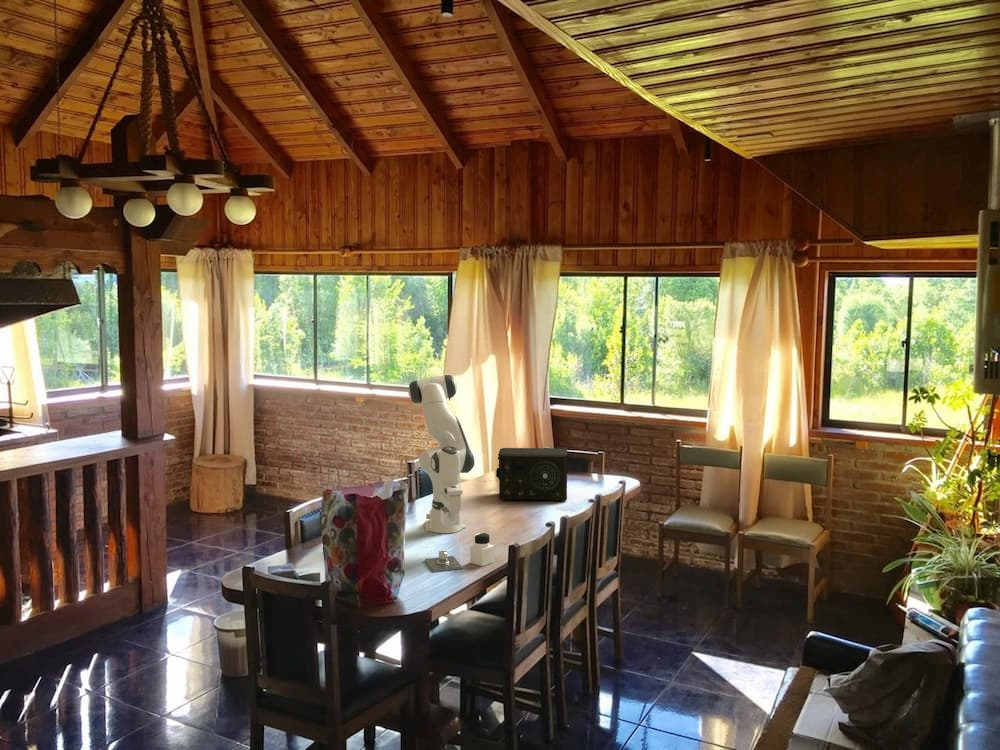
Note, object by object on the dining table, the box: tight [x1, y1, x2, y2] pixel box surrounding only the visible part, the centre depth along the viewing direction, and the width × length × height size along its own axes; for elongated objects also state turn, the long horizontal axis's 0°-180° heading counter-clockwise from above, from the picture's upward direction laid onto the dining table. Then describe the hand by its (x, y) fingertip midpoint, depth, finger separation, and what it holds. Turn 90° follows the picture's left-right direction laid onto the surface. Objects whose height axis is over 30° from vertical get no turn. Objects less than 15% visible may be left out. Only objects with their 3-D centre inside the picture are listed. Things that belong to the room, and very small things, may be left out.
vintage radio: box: [495, 447, 569, 503], centre depth 457 cm, size 38×20×25 cm, turn 86°
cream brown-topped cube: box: [440, 507, 459, 526], centre depth 366 cm, size 7×7×6 cm
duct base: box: [424, 550, 463, 573], centre depth 354 cm, size 14×12×5 cm
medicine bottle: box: [469, 532, 495, 567], centre depth 356 cm, size 7×7×12 cm
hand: (449, 517), depth 366 cm, fingers closed on cream brown-topped cube, 6 cm apart
